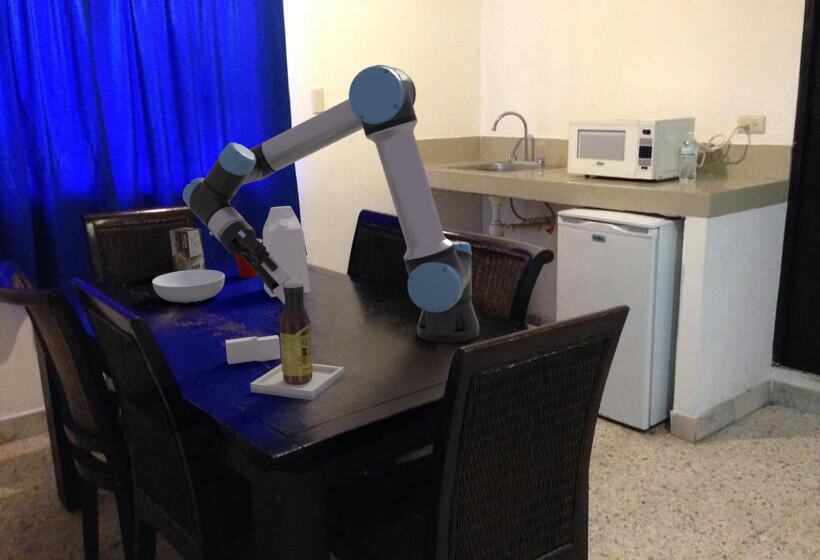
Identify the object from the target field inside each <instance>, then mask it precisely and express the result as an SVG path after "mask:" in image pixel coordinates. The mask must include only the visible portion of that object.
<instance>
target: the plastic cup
mask: <svg viewBox="0 0 820 560" xmlns="http://www.w3.org/2000/svg"><path fill="white" fill-rule="evenodd" d="M255 239H256V240H258V241H259V242H260V243H261V244H263V239H261V238H255ZM234 257H235V261H236V264H237V268H238V271H239V275H240V277H241V278H243V279H252V278H256V277H259V275H258V274H257V273H256V272H255V270H254V269H253V268H252V267H251V266H250V264H248V263H247V261H246V260H245V259H244V258H243V254H242V253H238V254H234Z"/></svg>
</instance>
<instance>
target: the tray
mask: <svg viewBox="0 0 820 560" xmlns="http://www.w3.org/2000/svg"><path fill="white" fill-rule="evenodd" d="M345 373H346V372H345V367H344V366H338V365H337V366H336V365H328V364H319V363H313V372H312V379H311V380H309V381H308V382H305V383H300V384H290V383H287V382H285V381H284V379H283V373H282V363H280V364H279V365H278V366H276V367H274V368H272V369H271V370H269V371H267V372H266V373H265V374H263V375H262V376H260V377H258V378H256V379H255V380H254V381H251V382H250V393H255V394H256V393H257V394H264V395H271V396H272V395H273V396H277V397H286V398H291V399H292V398H294V399H301V400H307V401H308V400H309V401H314V400H315V399H316V398H317V397H319V396H321V395H322V394H323V393H324V392H325V391H326V390H328V389H330V387H332V386H333V385H334V384H335V383H336V382H339V381H340V379H342V378H344V376H346V375H345Z"/></svg>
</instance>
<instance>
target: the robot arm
mask: <svg viewBox="0 0 820 560" xmlns="http://www.w3.org/2000/svg"><path fill="white" fill-rule="evenodd" d="M416 99H417V90H416V86H415V83H414V81H413V79H412V78H411V76H410V75H409V74H408V73H406V72H405V71H404V70H402V69H399V68H397V67H392V66H389V65H384V64H377V65H372V66H368V67H366V68H364V69H362V70H360V71H359V72H358V73H356V75H355V76H354V78H353V79H352V81H351V84H350V86H349V91H348V99H346V100H344V101H342V102H340V103H338V104H336V105H333V106H332V107H330V108H328V109H326V110H324V111H322V112H320V113H319V114H316V115H315V116H312V117H310V118H309V119H307V120H305V121H303V122H301V123H298V124H297V125H295V126H293V127H291V128H289V129H287V130H285V131H283V132H281V133H279V134H278V135H276V136H273V137H271V138H270V139H268V140H266V141H264V142H262V143H259V144H257V145H255V146H253V147H252V148H250V149H248V148H247V147H246V146H245V145H242V144H240V143H237V142H230V143H228V144H227V145H226V146H225V148H224V149H223V150H222V151H221V152H220V153H219V155H218V157H217V159H216V161H215V162H214V164H213V166H212V167H211V169H210V170H209V172H208V173H207V175H206V177H205V178H204V177H197V178H194V179H193V180H191V181H190V183H189V184H186V186H185V187H184V189H183V192H182V199H183V202H184V203H185V204H186V206H187V207H188V208H189V210H190V211H191V212H192V213H193V215H195V216H196V217H197V218H198V219H199V220H200V221H201V223H202V224H203V225H205V226H206V228H207V229H208V230H209V235H210V236H214V237H215V238H216V240H218V241H219V242H220V244H221V245H222V246H223V247H224V248H225V250H227V252H228V253H229V254H231V255H235V254H238V253H242V254H243V258H244V259H245V260H246V261H247V263H248V264H250V266H251V267H252V268H253V269H254V270H255V272H256V273H257V274H258V277H259V278H260V279H261V280H262V282H263V284H264V283H265V284H266V285H267V287H268V288H269V289H270V290H271V292H272V293H273V294H274V293H275V294H276V297H277V298H278V299H279V300H280V301H281V302H282V303H283V305H285V295H284V292H283V286H284V284H285V282H286V281H288V280H289V279H290V276H289V275H288V274H287V273H286V272H285V271H284V270H283V269H282V268H281V266H280V265H279V264H278V263H277V262H276V261H275V260H274V259H273V258H272V257H269V256H270V254H269V252H267V251H266V250H267V249H266V247H265V246H264V245H263V243H260V242H259V241H258V240H256V239H257V238H256V235H257V234H256V231H255V229H254V228H253V227H252V226H251V225H250V224H249V223H248V222H247V220H246V219H245V218H244V217H243V216H242V215H241V214H240V213H239V212H238V211H237V209H235V207H233V205H232V204H231V203H230V202H231V201H232V200H233V198H234V197H235V195H236V194H237V192H238V191H239V190H240V189H241V187H242V185H246V184H249V183H253V182H260V181H263V180H265V179H267V178H268V177H270V176H271V175H272V174H274V173H276V172H279V171H280V170H281V169H285V168H286V167H288V166H290V165H292V164H294V163H296V162H298V161H300V160H302V159H304V158H306V157H308V156H310V155H313V154H314V153H316V152H318V151H320V150H322V149H325V148H327V147H328V146H330V145H332V144H335V143H337V142H339V141H342V140H343V139H344V138H348V137H349V136H351V135H353V134H355V133H357V132H359V131H361V130H363V132H364V135H365V138H366V139H367V140H370V141H372V142H373V143H374V144H375V148H376V150H377V154H378V157H379V160H380V164H381V166H382V169H383V173H384V177H385V180H386V183H387V186H388V189H389V193H390V196H391V198H392V202H393V205H394V208H395V212H396V216H397V218H398V219H397V220H398V222H399V226H400V229H401V231H402V234H403V237H404V241H405V244H406V251H405V254H404V255H403V261H404V264H405V265H404V266H405V267H406V271H407V274H408V279H407V291H408V295H409V297H410V299H411V301H412V302H413V303H414V304H415V305H416V306H417V307H418V308H420V309H422V310H421V313H420V317H419V320H418V322H417V336H418V337H419V338H420V339H422V340H424V341H427V342H431V343H437V344H439V343H440V344H455V342H458V343H464V342H467V341H466V340H469V341H472V340H474V339H476V338H478V336H479V335H480V323H479V320H478V318H477V315H476V312H475V311H476V310H475V308H474V305H473V301H472V300H473V298H472V297H473V295H472V291H473V290H472V257H473V252H472V246H471V244H470V243H469V242H467V241H459V240H458V241H456V240H454V241H453V240H450V239H448V238H447V237H446V236H445V234H444V230H443V227H442V223H441V219H440V217H439V214H438V210H437V207H436V203H435V200H434V197H433V194H432V193H433V192H432V189H431V187H430V183H429V179H428V177H427V173H426V170H425V167H424V163H423V160H422V156H421V153H420V150H419V147H418V142H417V140H416V135H415V133H414V132H415V131H414V130H415V128H416V126H417V124H418V122H419V121H418V118H417V114H416V110H415V107H414V105H415V102H416ZM471 339H472V340H471ZM463 341H464V342H463Z"/></svg>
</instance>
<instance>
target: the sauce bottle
mask: <svg viewBox="0 0 820 560" xmlns="http://www.w3.org/2000/svg"><path fill="white" fill-rule="evenodd" d="M283 292H284V295H285V304H284V307H285V308H284V310H283V312H282V313H281V315H280V318H279V323H280V324H279V325H280V326H279V328H280V330H279V341H280V359H281V364H282V373H283V379H284V381H285V382H287V383H290V384H300V383H305V382H308V381H309V380H311V379H312V372H313V364H314V363H313V361H314V360H313V342H312V340H313V339H312V324H311V323H312V322H311V320H310V317H309V314H308V313H307V310H306V307H305V303H304V293H303V292H304V288H303V285H302V284H287V285H284V286H283Z"/></svg>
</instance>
